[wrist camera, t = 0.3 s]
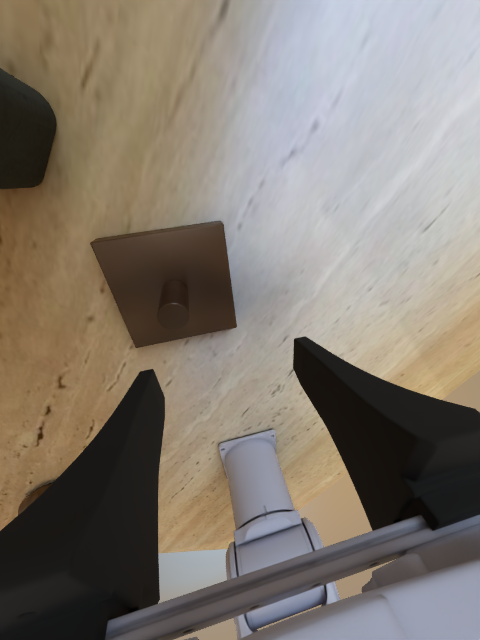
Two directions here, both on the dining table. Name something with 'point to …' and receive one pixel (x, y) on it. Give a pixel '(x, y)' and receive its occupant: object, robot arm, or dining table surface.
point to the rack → (169, 281)
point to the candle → (23, 133)
